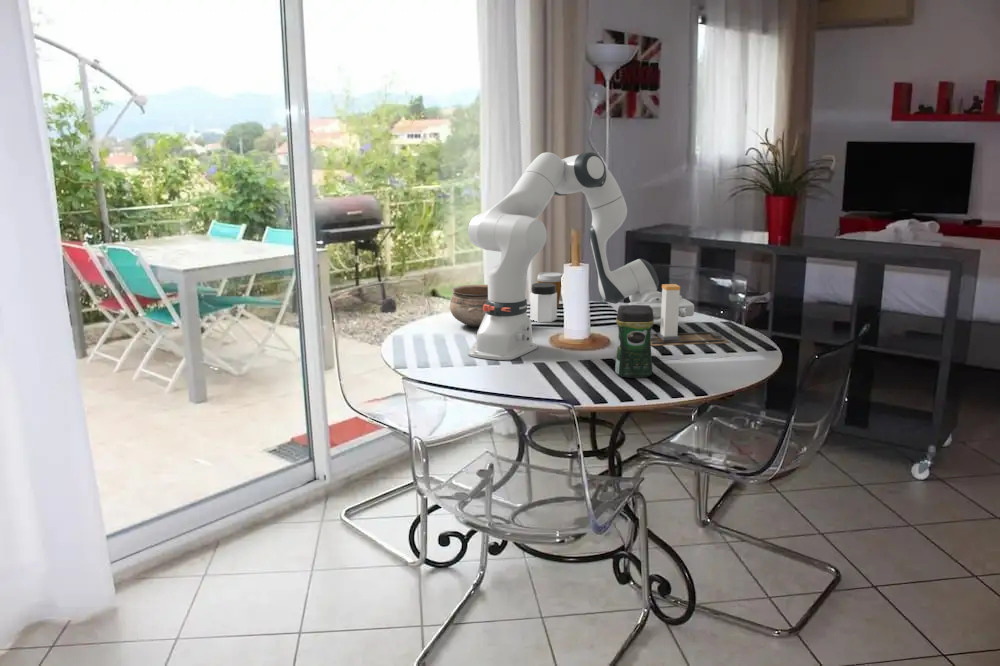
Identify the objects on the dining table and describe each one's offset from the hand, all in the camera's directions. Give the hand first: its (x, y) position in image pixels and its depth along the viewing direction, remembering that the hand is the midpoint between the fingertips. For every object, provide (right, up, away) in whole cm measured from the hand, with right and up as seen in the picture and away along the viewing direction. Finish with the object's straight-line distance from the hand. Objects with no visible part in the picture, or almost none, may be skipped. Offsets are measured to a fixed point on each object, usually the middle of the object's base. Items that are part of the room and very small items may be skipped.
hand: (668, 315), depth 241 cm
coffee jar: (-16, -16, -29) cm, 37 cm away
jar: (-36, -1, +31) cm, 47 cm away
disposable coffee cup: (-33, +4, +50) cm, 60 cm away
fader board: (+4, -8, +2) cm, 9 cm away
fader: (0, -7, +1) cm, 7 cm away
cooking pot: (-57, -3, +22) cm, 62 cm away
